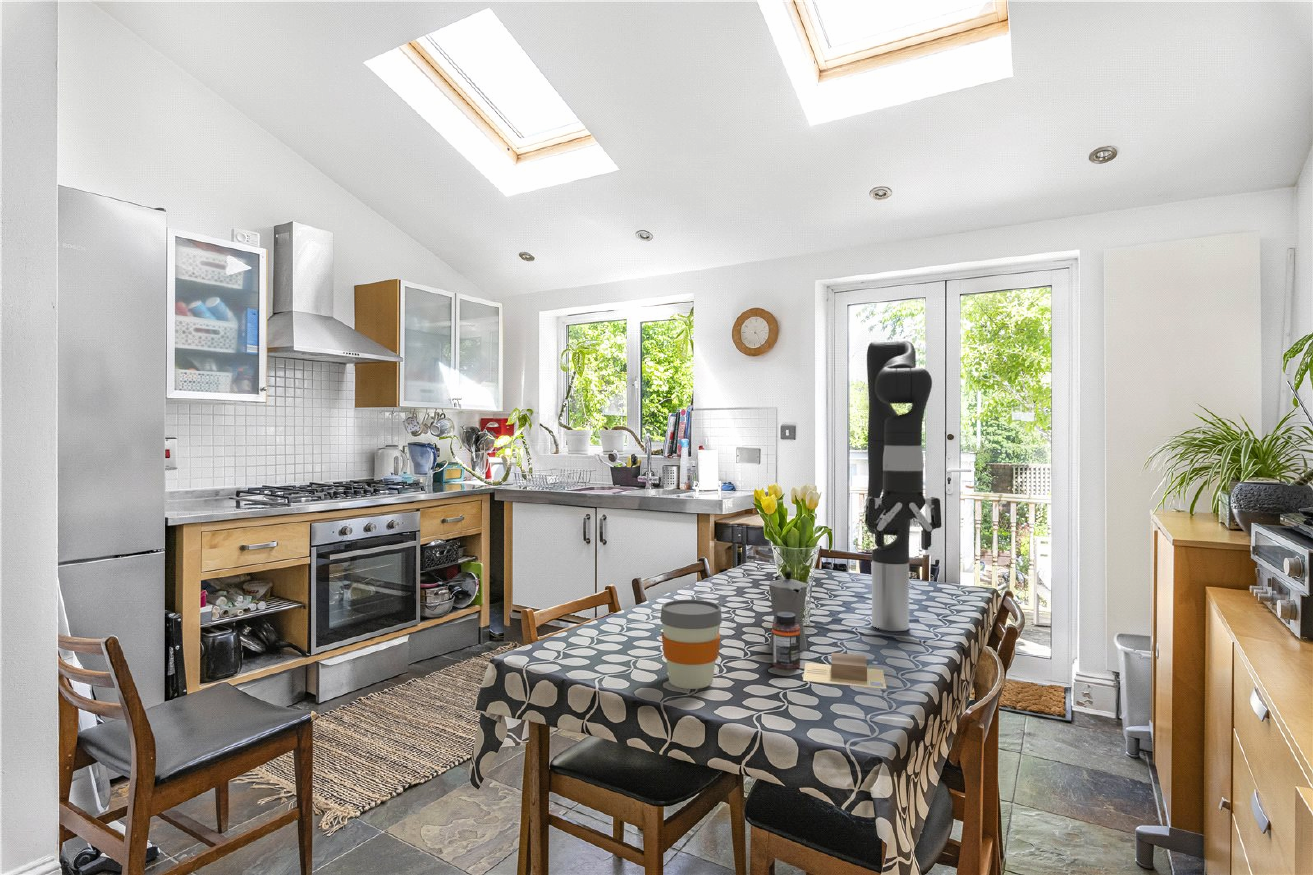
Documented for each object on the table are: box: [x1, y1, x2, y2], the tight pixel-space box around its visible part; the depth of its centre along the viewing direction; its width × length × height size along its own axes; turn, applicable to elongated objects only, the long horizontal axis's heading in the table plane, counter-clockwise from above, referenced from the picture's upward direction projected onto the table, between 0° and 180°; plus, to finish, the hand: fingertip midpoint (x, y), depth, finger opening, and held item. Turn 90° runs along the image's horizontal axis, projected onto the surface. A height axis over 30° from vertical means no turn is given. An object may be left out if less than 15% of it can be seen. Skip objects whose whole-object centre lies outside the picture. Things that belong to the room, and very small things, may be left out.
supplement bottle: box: [771, 612, 801, 670], centre depth 142 cm, size 6×6×11 cm
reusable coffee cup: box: [660, 599, 723, 690], centre depth 134 cm, size 13×13×15 cm
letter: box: [802, 662, 887, 690], centre depth 136 cm, size 11×16×1 cm
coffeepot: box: [768, 570, 808, 653], centre depth 156 cm, size 15×9×18 cm, turn 8°
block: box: [830, 652, 868, 681], centre depth 137 cm, size 7×7×3 cm
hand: (902, 549), depth 131 cm, fingers open, 8 cm apart
